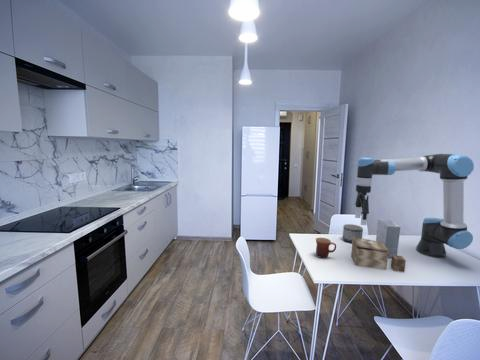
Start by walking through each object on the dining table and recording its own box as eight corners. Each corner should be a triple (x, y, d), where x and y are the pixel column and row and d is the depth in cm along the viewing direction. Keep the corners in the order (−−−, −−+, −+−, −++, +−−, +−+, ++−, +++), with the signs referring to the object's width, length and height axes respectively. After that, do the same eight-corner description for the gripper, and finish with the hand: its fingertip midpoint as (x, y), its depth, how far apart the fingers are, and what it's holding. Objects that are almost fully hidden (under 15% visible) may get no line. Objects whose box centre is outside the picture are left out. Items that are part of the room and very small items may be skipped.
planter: (359, 238, 176) (360, 225, 175) (363, 245, 164) (365, 230, 162) (341, 236, 179) (342, 223, 177) (344, 243, 167) (345, 229, 165)
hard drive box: (397, 258, 145) (401, 227, 142) (383, 257, 146) (387, 226, 143) (387, 248, 160) (390, 219, 157) (374, 246, 161) (377, 218, 158)
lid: (380, 243, 142) (381, 241, 141) (388, 252, 130) (388, 249, 130) (352, 238, 145) (352, 236, 145) (357, 246, 134) (357, 244, 133)
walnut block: (400, 267, 134) (401, 256, 133) (404, 272, 129) (405, 260, 128) (390, 266, 135) (392, 254, 134) (394, 270, 130) (395, 258, 129)
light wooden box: (379, 259, 143) (381, 243, 142) (386, 269, 132) (388, 252, 130) (351, 256, 147) (352, 240, 145) (355, 265, 135) (357, 248, 134)
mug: (313, 257, 144) (314, 241, 143) (315, 251, 152) (316, 236, 151) (334, 261, 139) (336, 245, 138) (335, 255, 147) (336, 239, 146)
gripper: (351, 181, 146) (349, 214, 149) (361, 188, 122) (358, 227, 126) (365, 182, 145) (362, 215, 148) (377, 189, 121) (374, 229, 124)
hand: (360, 221), depth 137 cm, fingers open, 13 cm apart
